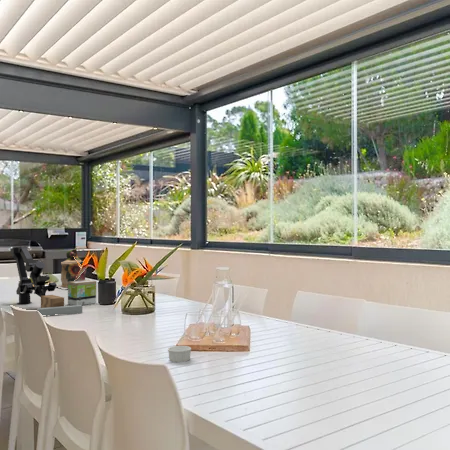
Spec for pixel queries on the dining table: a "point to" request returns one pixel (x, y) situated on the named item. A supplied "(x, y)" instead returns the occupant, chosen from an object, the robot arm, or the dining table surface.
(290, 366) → the dining table surface
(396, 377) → the dining table surface
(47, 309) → the gray bar
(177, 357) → the ramekin
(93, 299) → the tea box
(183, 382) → the dining table surface
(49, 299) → the walnut block
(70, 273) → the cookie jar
